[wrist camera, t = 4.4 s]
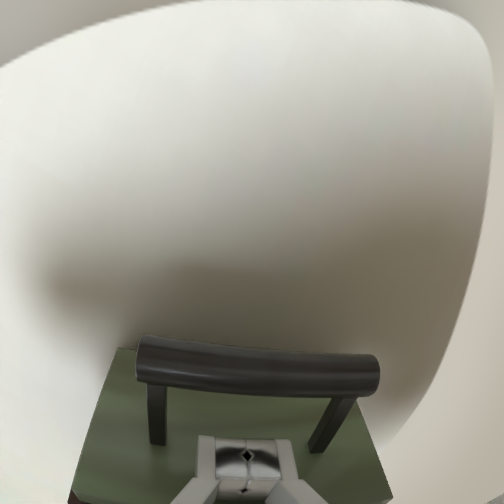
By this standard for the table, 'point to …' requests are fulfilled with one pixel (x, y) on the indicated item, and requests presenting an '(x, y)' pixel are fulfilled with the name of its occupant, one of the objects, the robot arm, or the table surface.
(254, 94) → the table surface
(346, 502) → the drawer
